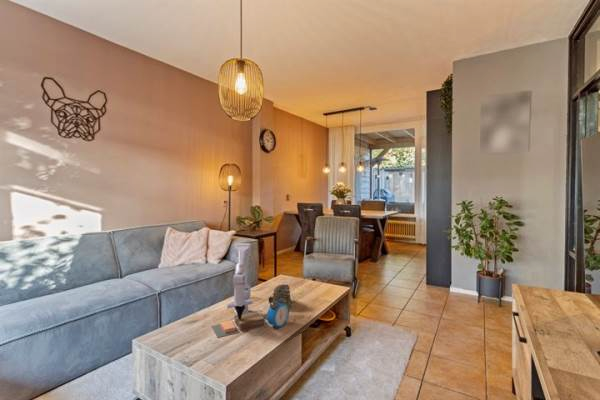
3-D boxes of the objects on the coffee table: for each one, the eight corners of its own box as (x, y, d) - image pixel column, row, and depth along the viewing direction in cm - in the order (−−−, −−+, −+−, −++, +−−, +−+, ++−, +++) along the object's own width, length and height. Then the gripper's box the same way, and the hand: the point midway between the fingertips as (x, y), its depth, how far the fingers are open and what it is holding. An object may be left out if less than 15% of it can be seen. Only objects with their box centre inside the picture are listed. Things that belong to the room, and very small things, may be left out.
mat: (211, 326, 167) (211, 326, 167) (232, 321, 172) (232, 321, 172) (217, 337, 154) (217, 337, 154) (239, 332, 160) (239, 331, 160)
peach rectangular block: (230, 320, 169) (230, 323, 169) (220, 322, 166) (220, 326, 167) (235, 327, 162) (235, 330, 162) (224, 329, 159) (224, 333, 159)
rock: (295, 281, 196) (273, 277, 194) (293, 302, 186) (269, 298, 185) (290, 291, 210) (269, 288, 208) (288, 312, 200) (266, 308, 199)
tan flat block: (234, 322, 172) (234, 315, 172) (256, 317, 179) (256, 310, 179) (240, 331, 162) (241, 324, 161) (264, 325, 169) (264, 318, 168)
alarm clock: (274, 331, 162) (274, 304, 161) (266, 328, 166) (266, 302, 165) (289, 322, 172) (289, 297, 171) (281, 319, 176) (281, 295, 175)
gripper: (228, 299, 159) (228, 323, 160) (254, 295, 167) (253, 318, 167) (225, 295, 166) (225, 318, 166) (249, 291, 173) (249, 313, 173)
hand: (239, 318), depth 167 cm, fingers closed
